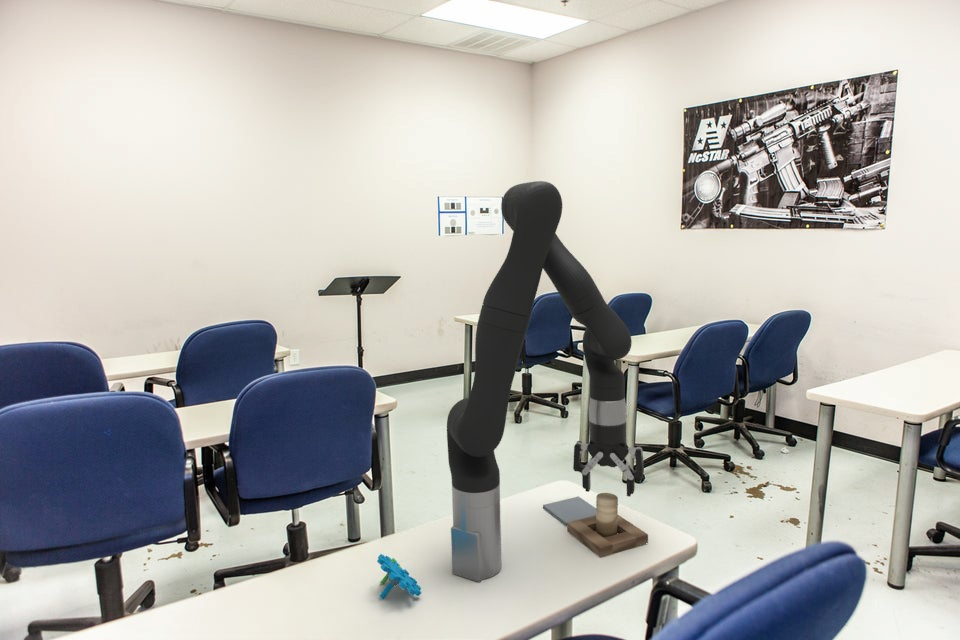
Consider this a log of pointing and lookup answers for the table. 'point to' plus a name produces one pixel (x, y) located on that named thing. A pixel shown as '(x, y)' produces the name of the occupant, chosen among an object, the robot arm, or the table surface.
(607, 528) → the peg
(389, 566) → the blue branched plastic piece
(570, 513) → the mat
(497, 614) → the table surface
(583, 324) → the robot arm
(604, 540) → the pocket block
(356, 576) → the table surface
